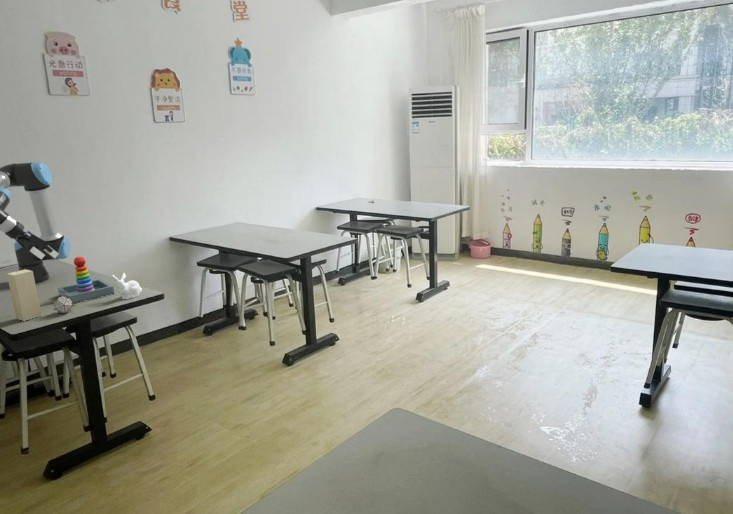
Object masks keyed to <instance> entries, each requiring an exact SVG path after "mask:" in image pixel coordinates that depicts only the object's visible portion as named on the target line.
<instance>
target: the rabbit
mask: <svg viewBox="0 0 733 514" xmlns="http://www.w3.org/2000/svg"><path fill="white" fill-rule="evenodd" d="M111 277H112V278H113V280H114V281H116V287H117V292H118V294H119V295H122V297H121V299H122V300H130V299H134V298H136V297H138V296H139V295H140V294H141V293H142V292H143V288H142V287H141V286H140V284H139V282H137V281H136V280H128V281H127V282H125V279H126V278H127V275H126V273H125V272H123V274H122V275H121V277H120V279H119V278H118V277H116V276H115V275H114V274H112V276H111Z"/></svg>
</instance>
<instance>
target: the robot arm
mask: <svg viewBox="0 0 733 514" xmlns="http://www.w3.org/2000/svg"><path fill="white" fill-rule="evenodd" d="M52 183H53V176H52V172H51V170H50V168H49V167H48V165H47V164H45V163H44V162H35V161H33V162H32V161H31V162H22V163H21V162H20V163H10V164H6V165H3V166H1V167H0V231H1V232H2V233H5V234H4V235H6V236H7V237H9V238H10V239H13V240H15V242H14V244H13V247H14V252H15V257H16V261H17V266H18V271H21V270H31V271H33V275H34V280H35V283H39V282H43V281H46V280H48V279H50V273H49V272H48V269H47V268H46V267H45V265H44V261H55V260H56V261H58V260H65V259H67V258H68V257H69V255H70V253H71V242H70V241H71V240H70V239H69V238H68V237H65V236H64V233H63V232H61V231H59V226H58V222H57V219H56V215H55V213H54V208H53V204H52V201H51V197H50V194H49V189H50V187H51V186H50V185H51V184H52ZM11 187H13V188H14V187H15V188H16V187H23V189H24V192H27V193H28V194H29V197H30V201H31V204H32V206H33V211H34V214H35V217H36V221H37V224H38V228H39V232H40V236H39V237H38V236H37V235H35V234H33V232H31V231H28V230H27V231H24V229H25V226H24V225H23V224H22V223H20V222H19V221H17V219H16V218H14V217H13V216H11V214H9V213H8V212H6V211H5V209H6V208H7V207H8V205H9V204H10V203H11V199H12V198H13V195H12V193H11V192H10V190H8V189H7V188H11Z"/></svg>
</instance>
